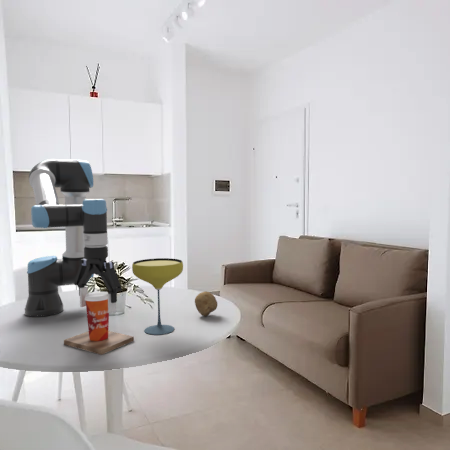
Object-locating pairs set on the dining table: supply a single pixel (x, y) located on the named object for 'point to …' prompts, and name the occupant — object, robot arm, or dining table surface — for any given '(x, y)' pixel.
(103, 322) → the coffee cup
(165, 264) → the cocktail glass
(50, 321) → the dining table surface
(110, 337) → the walnut board
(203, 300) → the natural sponge
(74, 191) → the robot arm
